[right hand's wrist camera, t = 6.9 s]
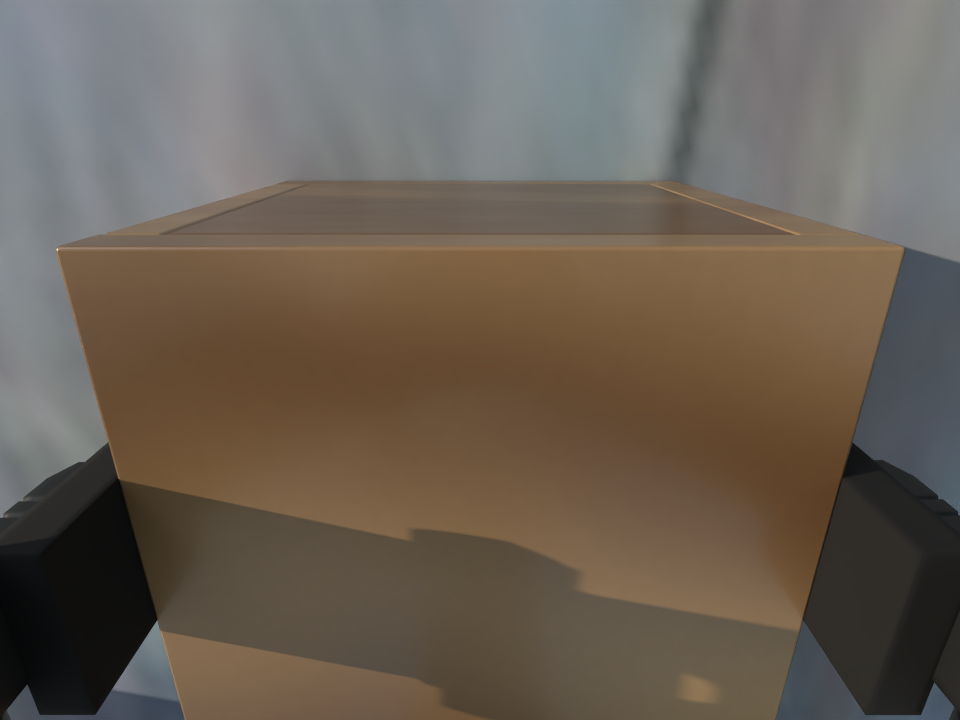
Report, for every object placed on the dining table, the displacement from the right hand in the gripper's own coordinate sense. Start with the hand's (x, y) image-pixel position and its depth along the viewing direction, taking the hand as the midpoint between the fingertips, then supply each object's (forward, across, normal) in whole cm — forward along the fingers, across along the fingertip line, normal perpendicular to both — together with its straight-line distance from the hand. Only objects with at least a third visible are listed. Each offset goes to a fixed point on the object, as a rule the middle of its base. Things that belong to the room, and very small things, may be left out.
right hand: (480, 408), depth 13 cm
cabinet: (+4, 0, -5) cm, 7 cm away
